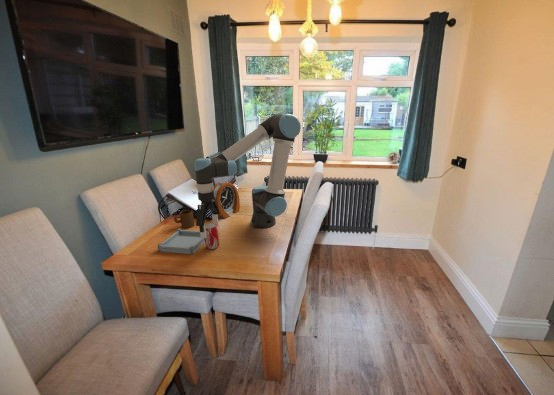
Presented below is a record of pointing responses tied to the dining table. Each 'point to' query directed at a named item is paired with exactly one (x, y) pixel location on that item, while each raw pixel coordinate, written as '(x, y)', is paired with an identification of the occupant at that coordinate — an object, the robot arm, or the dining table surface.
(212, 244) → the soda can
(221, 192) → the alarm clock
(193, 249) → the grey shallow square tray
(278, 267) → the dining table surface
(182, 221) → the mug
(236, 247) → the dining table surface
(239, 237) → the dining table surface
